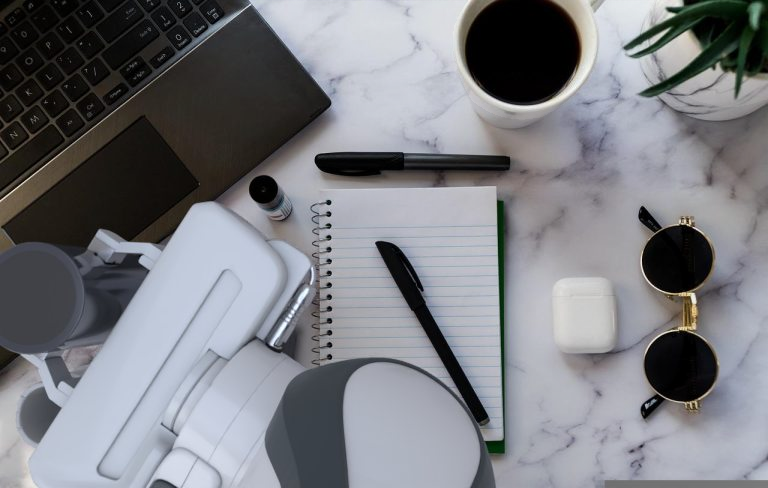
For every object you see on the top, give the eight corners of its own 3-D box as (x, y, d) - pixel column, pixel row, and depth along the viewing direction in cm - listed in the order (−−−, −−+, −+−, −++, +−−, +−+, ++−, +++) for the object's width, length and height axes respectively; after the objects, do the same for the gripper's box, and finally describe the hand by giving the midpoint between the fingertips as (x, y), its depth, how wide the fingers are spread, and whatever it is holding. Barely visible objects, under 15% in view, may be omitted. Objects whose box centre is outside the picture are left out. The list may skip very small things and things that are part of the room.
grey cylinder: (154, 347, 46) (74, 362, 36) (70, 334, 46) (-32, 346, 36) (168, 258, 46) (92, 249, 36) (84, 247, 47) (-12, 235, 37)
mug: (70, 360, 69) (-7, 374, 57) (176, 364, 68) (120, 379, 56) (66, 432, 69) (-13, 462, 57) (173, 437, 67) (115, 469, 56)
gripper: (322, 267, 36) (129, 142, 38) (126, 574, 36) (-61, 435, 38) (340, 271, 43) (173, 163, 44) (173, 532, 42) (11, 414, 44)
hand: (64, 290), depth 41 cm, fingers closed on grey cylinder, 6 cm apart
